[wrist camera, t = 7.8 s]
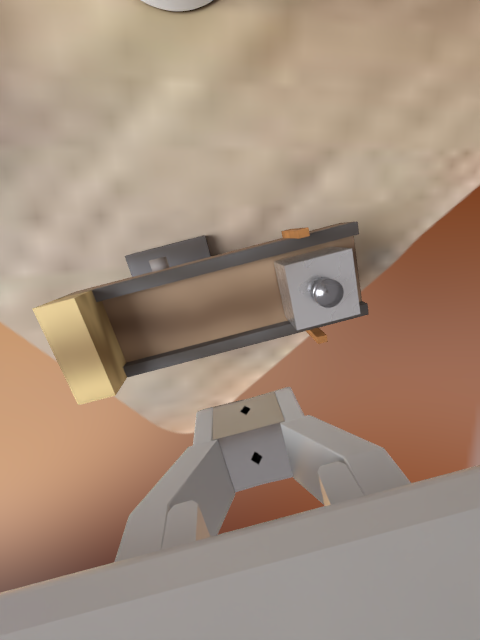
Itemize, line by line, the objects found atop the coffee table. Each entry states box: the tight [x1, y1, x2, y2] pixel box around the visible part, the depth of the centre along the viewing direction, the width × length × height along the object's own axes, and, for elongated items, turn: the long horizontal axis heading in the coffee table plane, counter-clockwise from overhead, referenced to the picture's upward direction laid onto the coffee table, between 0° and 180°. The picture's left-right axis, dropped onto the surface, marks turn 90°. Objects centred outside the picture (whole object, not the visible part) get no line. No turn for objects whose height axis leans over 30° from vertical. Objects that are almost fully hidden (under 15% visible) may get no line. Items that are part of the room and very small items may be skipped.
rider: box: [274, 247, 360, 330], centre depth 23 cm, size 5×5×5 cm
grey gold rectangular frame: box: [33, 222, 368, 405], centre depth 28 cm, size 12×25×14 cm, turn 104°
